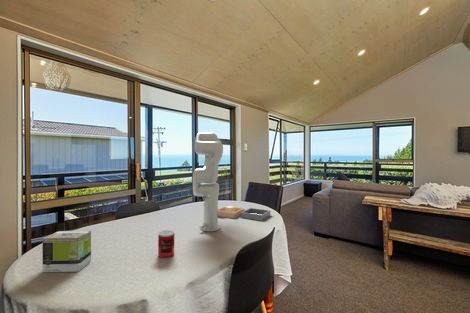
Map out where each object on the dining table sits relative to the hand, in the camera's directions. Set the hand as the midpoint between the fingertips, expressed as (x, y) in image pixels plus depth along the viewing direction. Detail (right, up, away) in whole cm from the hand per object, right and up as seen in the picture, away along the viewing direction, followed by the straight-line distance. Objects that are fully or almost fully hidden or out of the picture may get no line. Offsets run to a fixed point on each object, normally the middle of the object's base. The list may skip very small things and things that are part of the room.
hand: (209, 178), depth 189 cm
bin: (+37, -31, -3) cm, 48 cm away
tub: (+17, -30, +2) cm, 35 cm away
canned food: (-14, -31, -72) cm, 80 cm away
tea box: (-53, -31, -86) cm, 106 cm away
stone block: (+17, -30, +2) cm, 34 cm away
